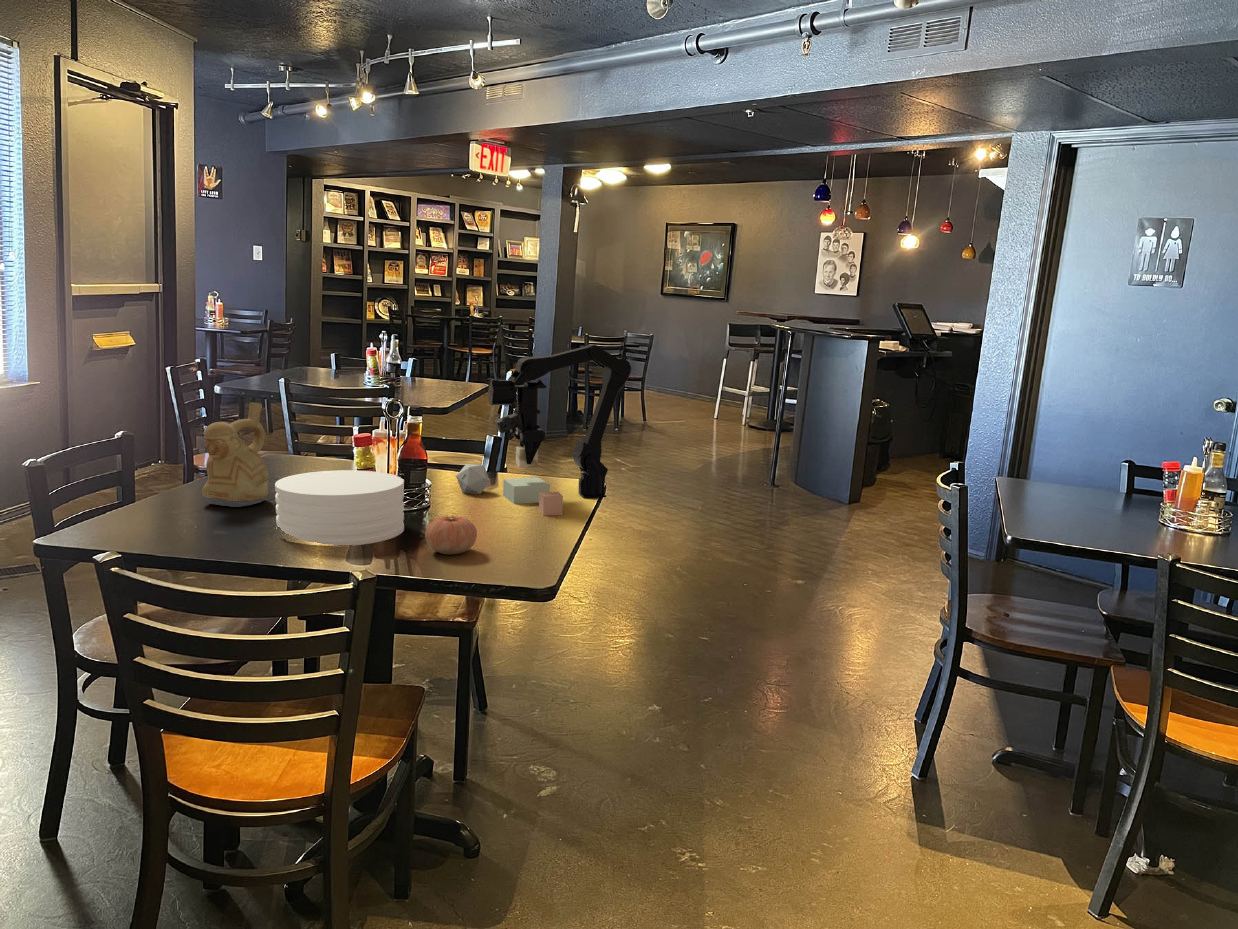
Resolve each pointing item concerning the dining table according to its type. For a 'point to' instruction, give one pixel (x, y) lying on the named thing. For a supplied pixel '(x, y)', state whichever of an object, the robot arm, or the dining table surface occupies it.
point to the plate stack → (341, 506)
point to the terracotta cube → (550, 503)
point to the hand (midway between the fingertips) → (526, 462)
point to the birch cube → (522, 458)
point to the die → (473, 478)
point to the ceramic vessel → (236, 460)
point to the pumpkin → (451, 535)
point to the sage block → (524, 489)
